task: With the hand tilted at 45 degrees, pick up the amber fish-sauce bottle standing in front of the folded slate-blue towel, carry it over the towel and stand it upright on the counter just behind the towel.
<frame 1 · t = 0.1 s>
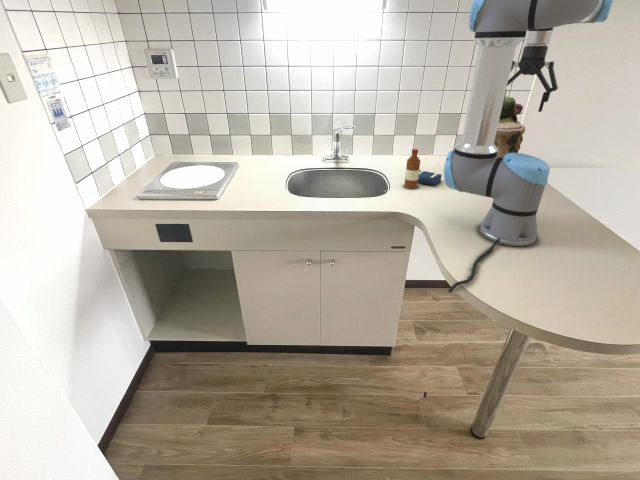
hand: (519, 109, 132), 28 cm above the worktop, tool pointing down, fingers open, 13 cm apart
towel: (425, 181, 145), on the worktop
cookie jar: (489, 173, 153), on the worktop, touching gripper
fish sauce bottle: (410, 186, 140), on the worktop
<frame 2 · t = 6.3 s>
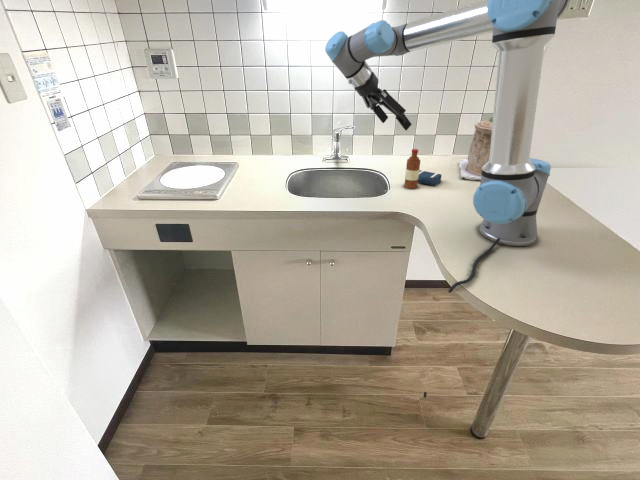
hand: (396, 123, 124), 26 cm above the worktop, tool tilted 45°, fingers open, 13 cm apart
cookie jar: (488, 173, 153), on the worktop
everything else where it was.
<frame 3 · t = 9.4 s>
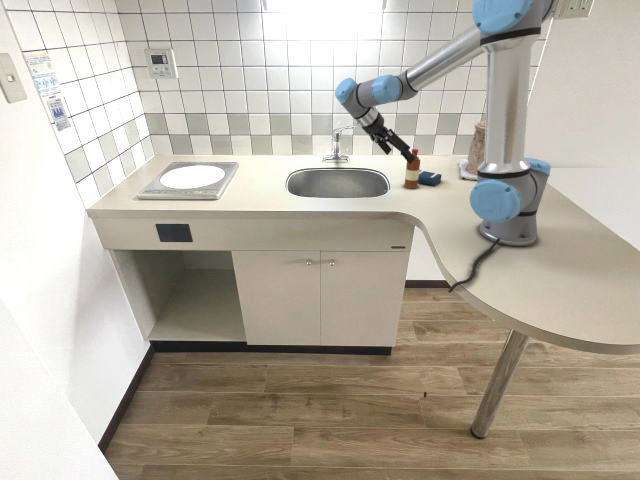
hand: (400, 156, 131), 13 cm above the worktop, tool tilted 45°, fingers open, 13 cm apart
nothing on the worktop moved.
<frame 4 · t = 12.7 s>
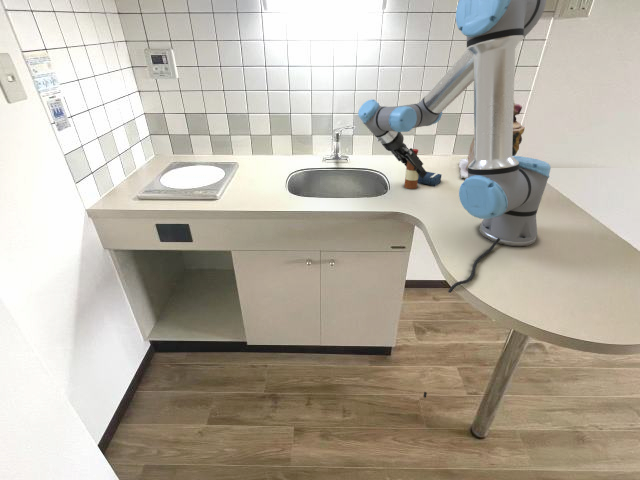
hand: (419, 173, 139), 5 cm above the worktop, tool tilted 45°, fingers closed on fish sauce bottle, 5 cm apart
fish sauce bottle: (410, 186, 140), on the worktop, touching gripper
everything else where it was.
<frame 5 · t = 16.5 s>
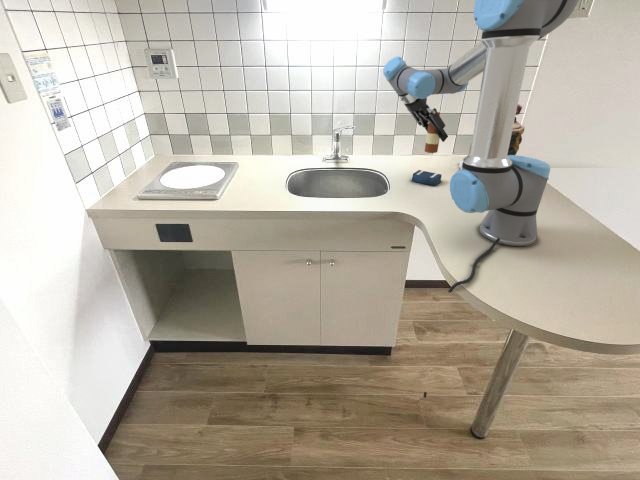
hand: (439, 137, 140), 17 cm above the worktop, tool tilted 45°, fingers closed on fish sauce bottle, 5 cm apart
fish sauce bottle: (431, 151, 141), point 12 cm above the worktop, touching gripper
everything else where it was.
when the fingers open (5 cm above the worktop, at t = 20.8 s): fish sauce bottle stays where it is, on the worktop.
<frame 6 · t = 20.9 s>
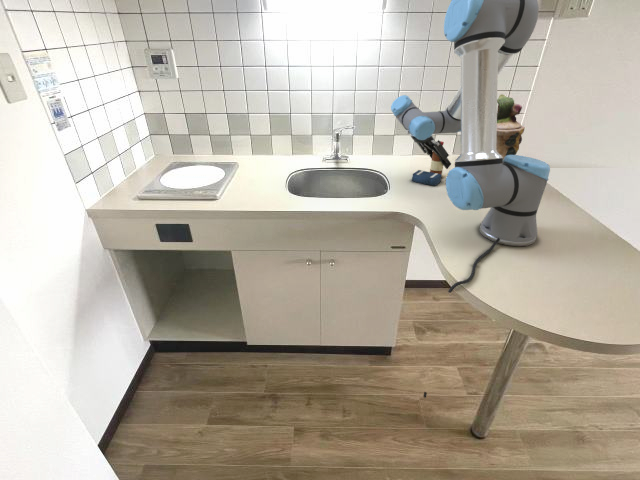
hand: (443, 164, 149), 5 cm above the worktop, tool tilted 45°, fingers open, 5 cm apart
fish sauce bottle: (435, 177, 150), on the worktop
everything else where it was.
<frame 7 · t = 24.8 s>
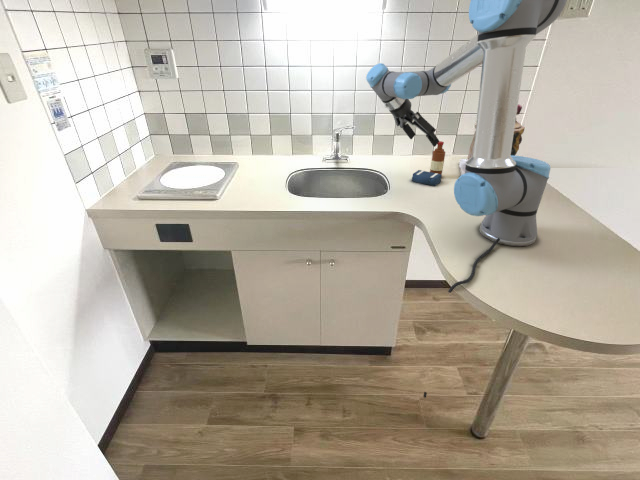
hand: (424, 140, 138), 17 cm above the worktop, tool tilted 45°, fingers open, 13 cm apart
nothing on the worktop moved.
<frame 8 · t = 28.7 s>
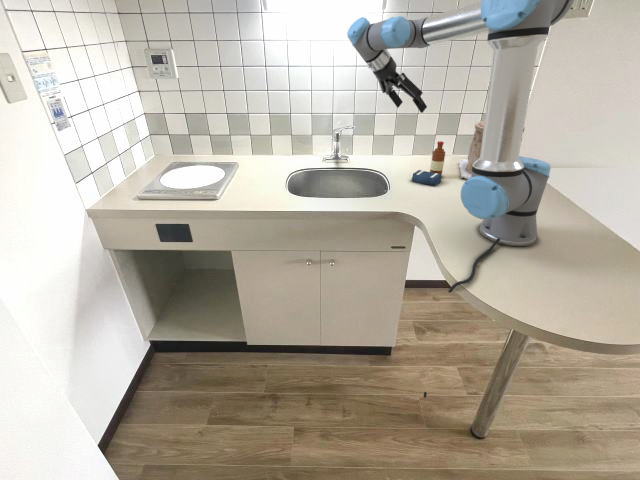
hand: (411, 107, 130), 30 cm above the worktop, tool tilted 45°, fingers open, 13 cm apart
nothing on the worktop moved.
at the end: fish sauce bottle inside the target area on the worktop beside the towel (1.4 cm from its centre), on the worktop; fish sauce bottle tilted 0°; the gripper is holding nothing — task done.
